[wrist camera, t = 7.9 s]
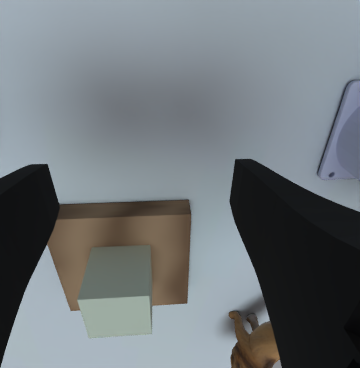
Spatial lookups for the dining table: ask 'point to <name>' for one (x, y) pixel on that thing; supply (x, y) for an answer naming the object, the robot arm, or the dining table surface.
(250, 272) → the dining table surface
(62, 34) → the dining table surface
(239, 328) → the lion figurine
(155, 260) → the base
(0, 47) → the dining table surface
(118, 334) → the block
